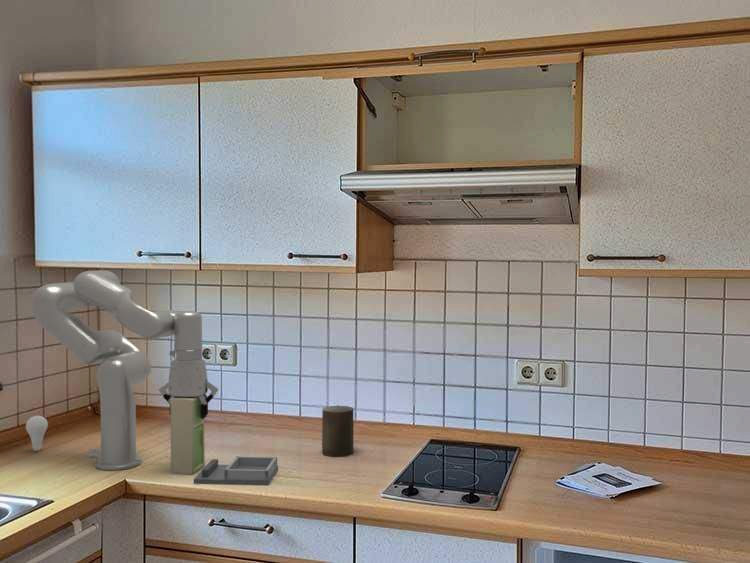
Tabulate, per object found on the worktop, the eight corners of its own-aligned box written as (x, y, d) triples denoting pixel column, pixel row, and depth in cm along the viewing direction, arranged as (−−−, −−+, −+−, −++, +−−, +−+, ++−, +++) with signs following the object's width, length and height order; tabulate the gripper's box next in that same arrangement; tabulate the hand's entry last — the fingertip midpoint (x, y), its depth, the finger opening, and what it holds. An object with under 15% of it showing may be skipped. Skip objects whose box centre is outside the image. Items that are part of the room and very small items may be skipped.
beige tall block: (194, 475, 192) (194, 399, 191) (170, 473, 193) (169, 398, 192) (207, 466, 199) (206, 393, 199) (183, 465, 201) (183, 392, 200)
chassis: (193, 483, 184) (193, 469, 184) (208, 468, 198) (208, 455, 197) (268, 485, 183) (268, 471, 183) (278, 469, 196) (278, 456, 196)
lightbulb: (49, 447, 219) (48, 413, 218) (46, 452, 213) (46, 417, 213) (27, 449, 217) (27, 414, 217) (24, 454, 211) (24, 418, 211)
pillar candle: (350, 457, 208) (350, 407, 208) (318, 456, 210) (319, 406, 209) (356, 449, 218) (356, 401, 218) (325, 447, 219) (325, 400, 219)
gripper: (152, 357, 192) (153, 420, 192) (215, 357, 191) (215, 421, 191) (162, 353, 199) (163, 414, 200) (222, 353, 198) (223, 415, 199)
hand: (188, 417), depth 196 cm, fingers closed on beige tall block, 7 cm apart
